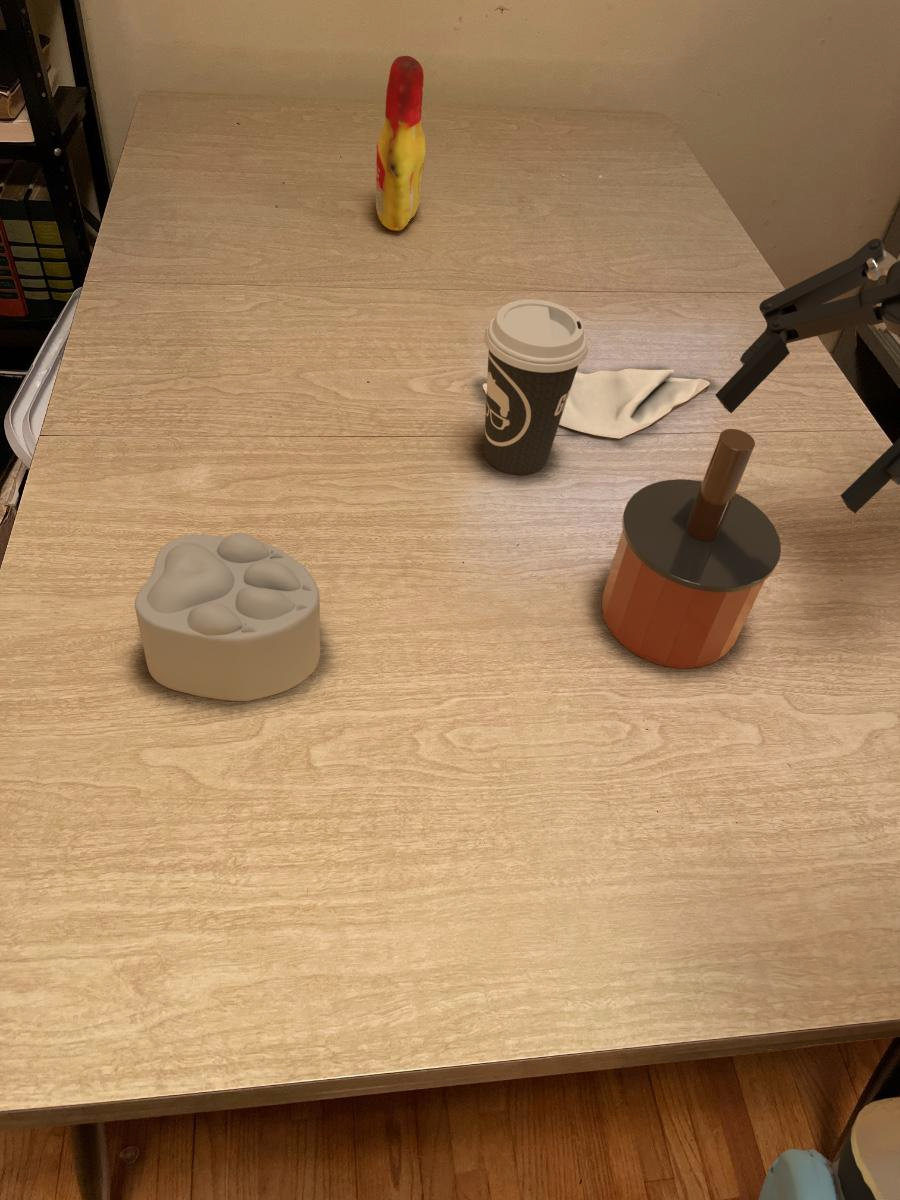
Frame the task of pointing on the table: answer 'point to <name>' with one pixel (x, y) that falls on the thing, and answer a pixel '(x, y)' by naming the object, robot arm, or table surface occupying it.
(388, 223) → the bottle
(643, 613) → the pot
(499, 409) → the coffee cup
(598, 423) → the cloth
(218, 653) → the lumpy-topped squat cylinder
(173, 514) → the table surface
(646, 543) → the lid
